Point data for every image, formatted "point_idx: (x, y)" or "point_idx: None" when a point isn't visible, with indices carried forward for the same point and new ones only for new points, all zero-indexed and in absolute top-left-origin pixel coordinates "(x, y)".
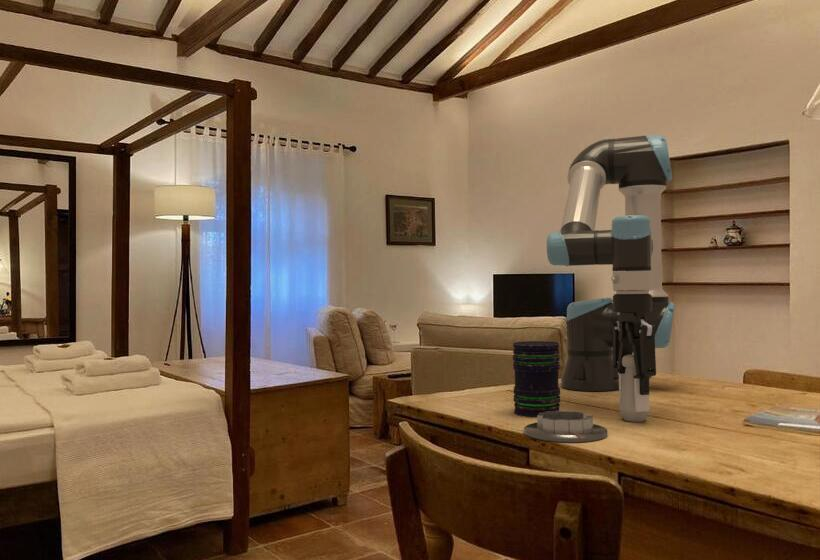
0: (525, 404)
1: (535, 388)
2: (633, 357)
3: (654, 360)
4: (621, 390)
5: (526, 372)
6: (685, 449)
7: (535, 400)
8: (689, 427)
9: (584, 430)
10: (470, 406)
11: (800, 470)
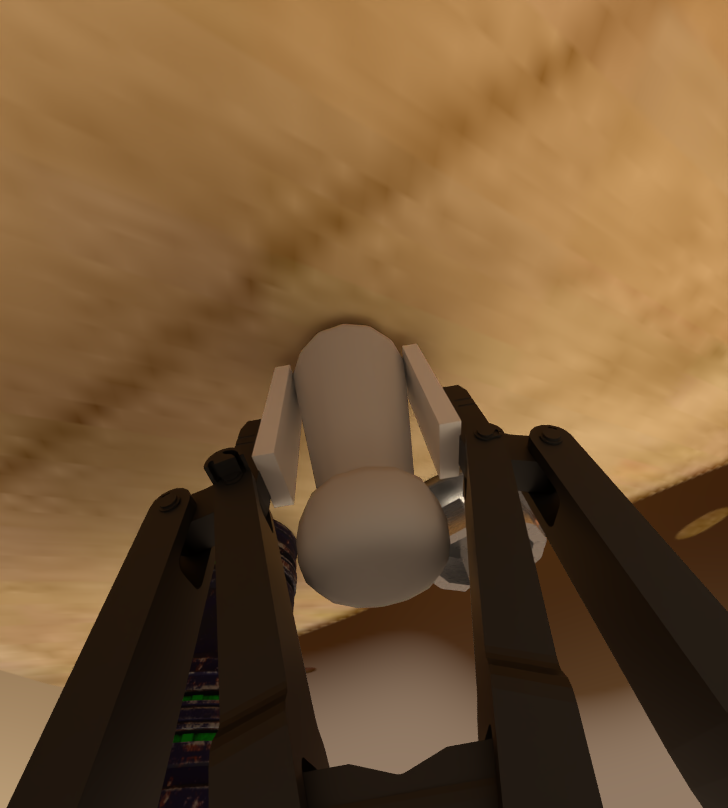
0: None
1: None
2: (437, 577)
3: (622, 502)
4: (299, 444)
5: None
6: (721, 348)
7: (295, 593)
8: (509, 203)
9: (532, 516)
10: None
11: None
